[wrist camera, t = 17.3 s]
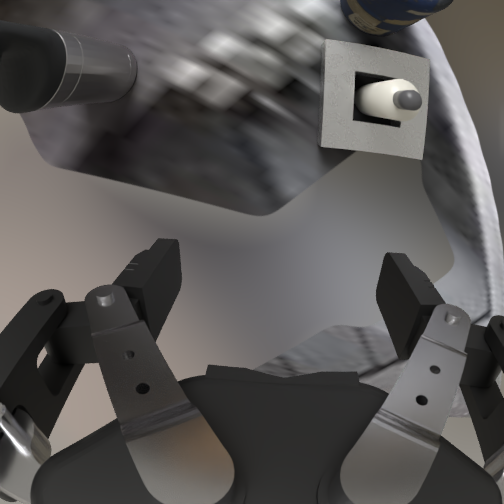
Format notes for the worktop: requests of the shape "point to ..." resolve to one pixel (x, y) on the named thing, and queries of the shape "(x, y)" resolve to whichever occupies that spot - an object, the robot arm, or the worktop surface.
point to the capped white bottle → (389, 100)
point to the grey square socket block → (342, 99)
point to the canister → (389, 13)
